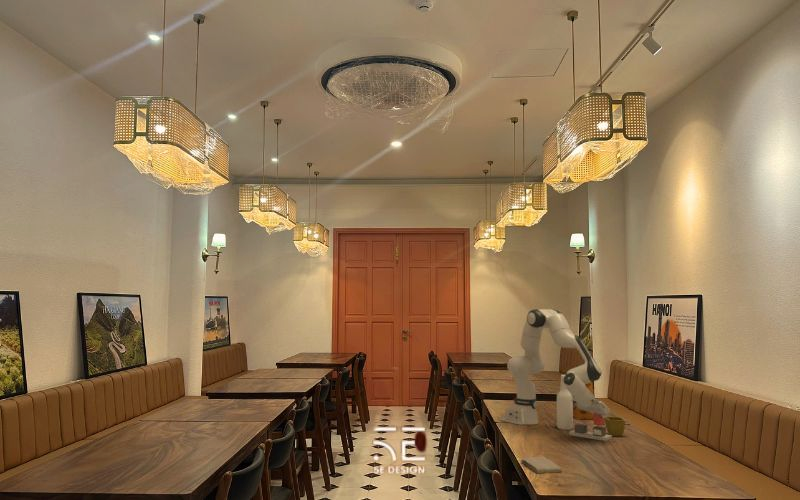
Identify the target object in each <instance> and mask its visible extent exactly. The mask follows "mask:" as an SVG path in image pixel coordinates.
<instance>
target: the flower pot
mask: <svg viewBox="0 0 800 500" xmlns="http://www.w3.org/2000/svg"><path fill="white" fill-rule="evenodd" d="M605 427H606V431H607V433H608V435H612V437H621V436H623V433H624V431H625V427H626V420H625V419H624V418H622V417H620V416H605Z"/></svg>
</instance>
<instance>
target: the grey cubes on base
mask: <svg viewBox="0 0 800 500" xmlns="http://www.w3.org/2000/svg"><path fill="white" fill-rule="evenodd" d="M606 431H607V428H606V426H605V427H604V426H598V425H594V426H593V427H592V432H591V431H588V424H585V423H579V422H578V423H576V424H574V429H572V430H569V431H568V436H573V437H580V438H586V439H592V440H598V441H604V442H607V441H609V440H611V439H613V438H612V437H613V436H612V435H610V434H607V432H606Z"/></svg>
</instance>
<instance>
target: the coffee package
mask: <svg viewBox="0 0 800 500" xmlns="http://www.w3.org/2000/svg"><path fill="white" fill-rule="evenodd" d="M585 386H586V387H587V388H588V389H589V390H590V391H591V393H592V394H593V395H594V396H595V394H594V388H593V383H592V382H589V383H586V384H585ZM572 397H574V396H573V395H572ZM573 419H575V420H585V421H589V420H590V421H592V420H594V417H593V414H591V413H590V412H589V411H585V410H581V409H579V408H578V407H577V406H576V405H575V404H574V403H573Z"/></svg>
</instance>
